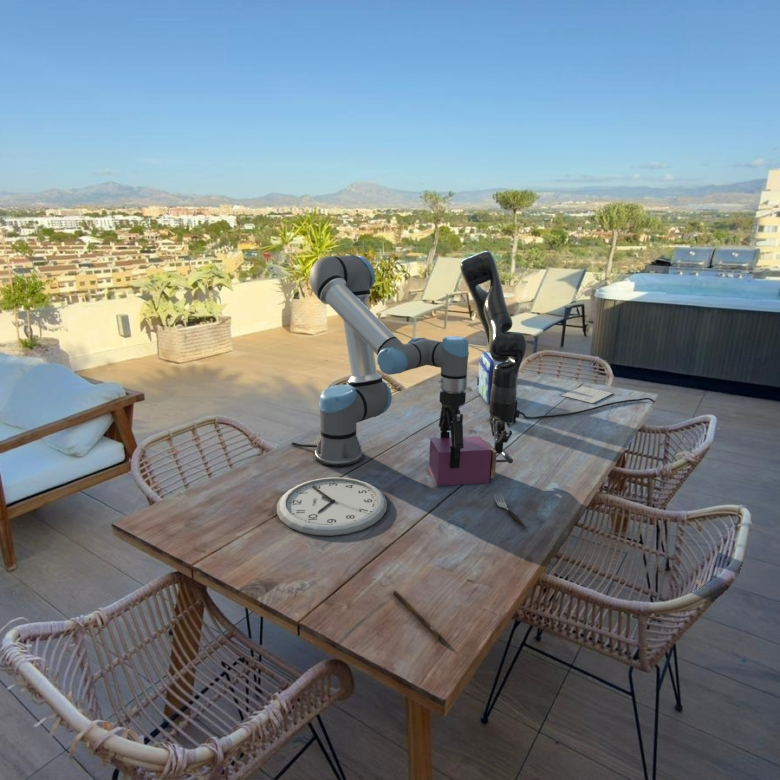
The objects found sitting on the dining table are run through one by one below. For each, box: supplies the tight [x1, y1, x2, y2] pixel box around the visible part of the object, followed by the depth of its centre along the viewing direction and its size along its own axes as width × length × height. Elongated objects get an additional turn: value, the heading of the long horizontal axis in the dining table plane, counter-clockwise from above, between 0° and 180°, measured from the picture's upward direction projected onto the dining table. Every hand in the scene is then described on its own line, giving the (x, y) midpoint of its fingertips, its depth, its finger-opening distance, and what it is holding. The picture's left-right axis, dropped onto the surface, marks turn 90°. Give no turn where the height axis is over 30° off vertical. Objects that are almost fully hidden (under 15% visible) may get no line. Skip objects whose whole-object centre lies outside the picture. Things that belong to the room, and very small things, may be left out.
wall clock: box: [276, 476, 388, 537], centre depth 142 cm, size 30×2×30 cm
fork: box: [493, 492, 526, 529], centre depth 140 cm, size 3×16×2 cm, turn 15°
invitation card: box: [560, 385, 613, 404], centre depth 242 cm, size 21×1×15 cm
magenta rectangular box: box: [428, 435, 492, 487], centre depth 159 cm, size 16×11×11 cm, turn 100°
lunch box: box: [476, 351, 503, 406], centre depth 230 cm, size 26×11×21 cm, turn 179°
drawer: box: [483, 438, 514, 479], centre depth 160 cm, size 20×9×9 cm, turn 100°
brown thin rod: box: [392, 590, 441, 641], centre depth 102 cm, size 15×1×1 cm, turn 34°
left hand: (449, 459), depth 158 cm, fingers closed on magenta rectangular box, 11 cm apart
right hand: (498, 452), depth 161 cm, fingers closed
